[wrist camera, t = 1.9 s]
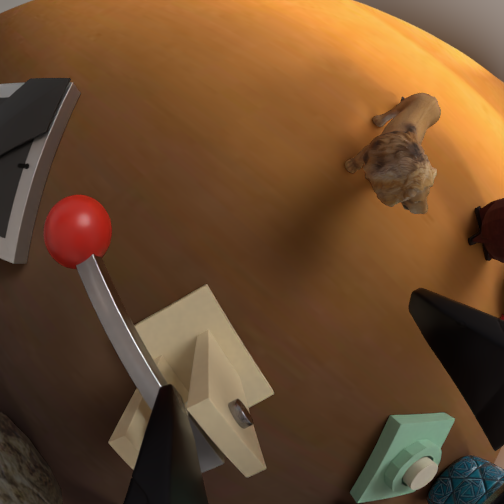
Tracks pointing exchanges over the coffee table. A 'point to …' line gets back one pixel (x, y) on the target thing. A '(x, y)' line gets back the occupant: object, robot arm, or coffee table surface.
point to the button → (420, 473)
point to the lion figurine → (401, 154)
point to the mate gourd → (490, 230)
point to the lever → (111, 300)
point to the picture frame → (28, 154)
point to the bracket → (200, 379)
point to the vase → (24, 469)
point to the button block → (400, 454)
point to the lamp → (466, 482)
